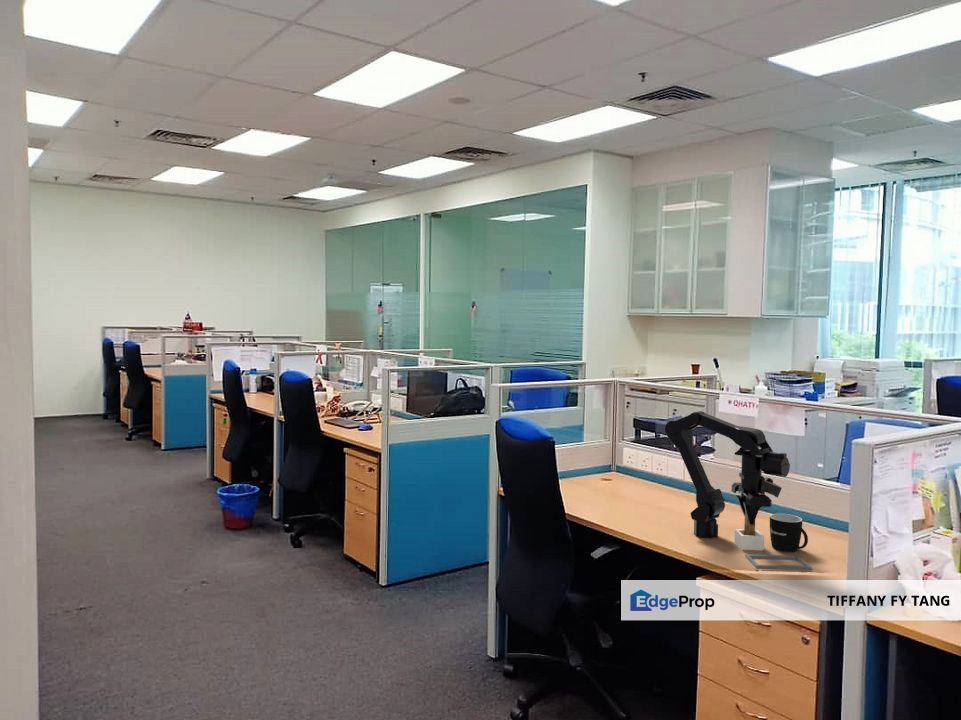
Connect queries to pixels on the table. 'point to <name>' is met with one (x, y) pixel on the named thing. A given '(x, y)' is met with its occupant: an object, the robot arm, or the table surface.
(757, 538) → the white open box
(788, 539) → the mug
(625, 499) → the table surface
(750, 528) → the pin
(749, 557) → the grey rectangular frame
